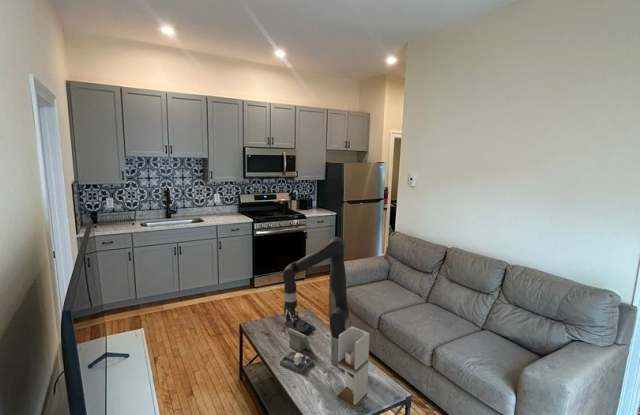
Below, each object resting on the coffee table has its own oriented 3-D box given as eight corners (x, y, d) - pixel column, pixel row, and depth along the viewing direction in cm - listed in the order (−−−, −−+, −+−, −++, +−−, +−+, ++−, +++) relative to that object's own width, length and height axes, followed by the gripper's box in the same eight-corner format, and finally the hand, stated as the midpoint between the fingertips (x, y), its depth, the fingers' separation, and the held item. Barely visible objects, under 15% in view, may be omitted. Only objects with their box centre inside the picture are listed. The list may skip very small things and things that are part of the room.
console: (314, 362, 199) (314, 357, 198) (302, 374, 189) (302, 368, 188) (292, 354, 207) (292, 348, 206) (280, 364, 197) (279, 359, 196)
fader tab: (301, 361, 196) (301, 353, 195) (297, 365, 192) (297, 357, 191) (298, 360, 197) (298, 352, 196) (294, 364, 194) (294, 356, 193)
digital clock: (311, 349, 212) (311, 334, 210) (299, 355, 206) (299, 339, 204) (296, 338, 224) (296, 323, 222) (285, 343, 219) (285, 328, 217)
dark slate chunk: (299, 318, 252) (299, 312, 251) (317, 330, 235) (317, 324, 234) (282, 324, 243) (282, 318, 242) (298, 337, 226) (298, 331, 225)
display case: (350, 386, 179) (351, 325, 173) (367, 395, 173) (369, 333, 167) (337, 398, 171) (338, 335, 164) (354, 408, 164) (356, 343, 158)
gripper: (302, 301, 194) (302, 327, 197) (290, 293, 206) (291, 317, 209) (290, 304, 190) (291, 331, 193) (279, 295, 202) (280, 320, 205)
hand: (291, 324), depth 201 cm, fingers open, 8 cm apart
